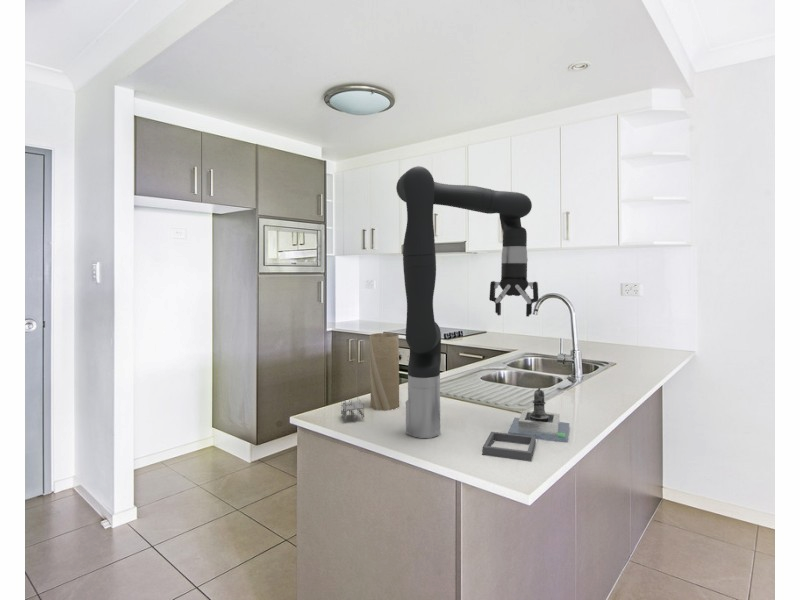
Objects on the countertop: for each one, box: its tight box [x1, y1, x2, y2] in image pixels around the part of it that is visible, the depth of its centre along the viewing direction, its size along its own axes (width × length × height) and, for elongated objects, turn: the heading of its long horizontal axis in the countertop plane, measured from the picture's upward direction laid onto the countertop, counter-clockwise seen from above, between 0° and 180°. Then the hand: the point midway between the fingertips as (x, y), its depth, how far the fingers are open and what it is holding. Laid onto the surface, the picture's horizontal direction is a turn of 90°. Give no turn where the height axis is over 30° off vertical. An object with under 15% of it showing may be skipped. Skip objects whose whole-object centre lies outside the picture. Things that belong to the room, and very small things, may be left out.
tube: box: [369, 332, 400, 411], centre depth 162 cm, size 10×10×25 cm
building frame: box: [340, 397, 365, 422], centre depth 150 cm, size 6×8×6 cm
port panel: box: [507, 410, 570, 443], centre depth 136 cm, size 16×14×4 cm
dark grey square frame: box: [482, 431, 537, 462], centre depth 123 cm, size 12×12×2 cm
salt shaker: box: [529, 386, 550, 422], centre depth 136 cm, size 6×6×12 cm
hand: (513, 315), depth 142 cm, fingers open, 8 cm apart
